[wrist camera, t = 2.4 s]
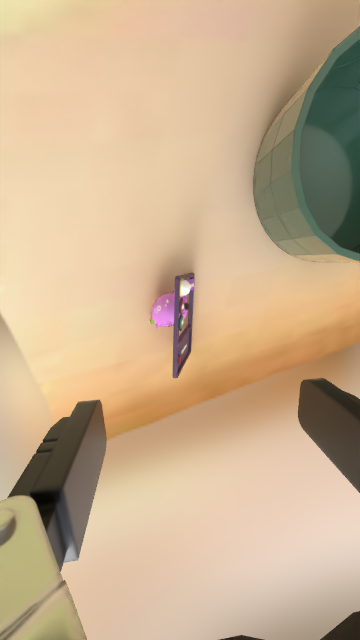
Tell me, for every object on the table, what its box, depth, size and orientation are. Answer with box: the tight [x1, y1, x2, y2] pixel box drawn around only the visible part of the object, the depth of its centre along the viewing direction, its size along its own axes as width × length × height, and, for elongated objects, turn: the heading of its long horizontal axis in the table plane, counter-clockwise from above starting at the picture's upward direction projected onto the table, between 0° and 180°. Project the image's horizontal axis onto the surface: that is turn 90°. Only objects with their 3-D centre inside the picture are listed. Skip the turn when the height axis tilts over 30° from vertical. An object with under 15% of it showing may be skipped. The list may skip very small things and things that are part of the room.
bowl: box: [253, 27, 360, 263], centre depth 21 cm, size 16×16×7 cm
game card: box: [150, 273, 195, 378], centre depth 23 cm, size 7×5×9 cm
